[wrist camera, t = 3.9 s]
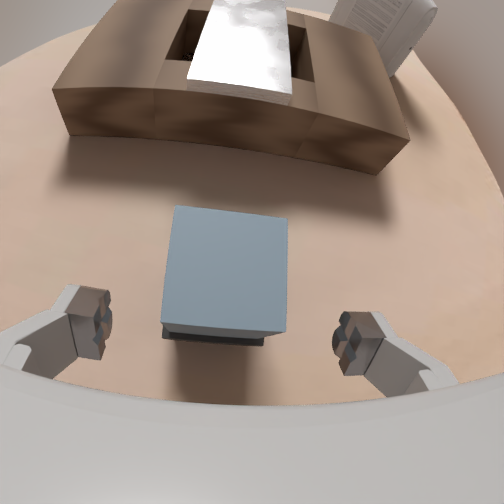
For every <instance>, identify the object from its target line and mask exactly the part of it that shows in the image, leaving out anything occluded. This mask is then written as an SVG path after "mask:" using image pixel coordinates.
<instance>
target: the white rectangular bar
mask: <svg viewBox="0 0 504 504" xmlns="http://www.w3.org/2000/svg"><path fill="white" fill-rule="evenodd" d="M186 91H195V92H204V93H213V94H221V95H228V96H235V97H242V98H248V99H254V100H260V101H265V102H271V103H276V104H281V105H286V106H288V103H289V101H290V99H291V96H292V81H291V66H290V51H289V38H288V26H287V15H286V4H285V0H214V2H213V4H212V7H211V9H210V12H209V15H208V17H207V20H206V23H205V26H204V28H203V31H202V34H201V37H200V40H199V43H198V46H197V49H196V52H195V55H194V58H193V61H192V64H191V67H190V71H189V74H188V77H187V88H186Z"/></svg>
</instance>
